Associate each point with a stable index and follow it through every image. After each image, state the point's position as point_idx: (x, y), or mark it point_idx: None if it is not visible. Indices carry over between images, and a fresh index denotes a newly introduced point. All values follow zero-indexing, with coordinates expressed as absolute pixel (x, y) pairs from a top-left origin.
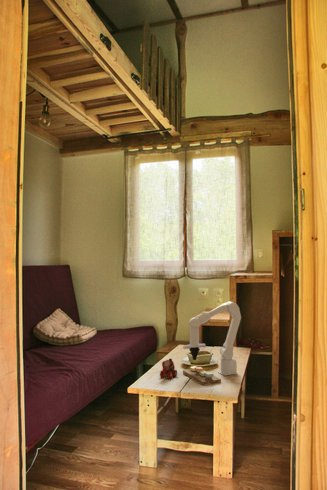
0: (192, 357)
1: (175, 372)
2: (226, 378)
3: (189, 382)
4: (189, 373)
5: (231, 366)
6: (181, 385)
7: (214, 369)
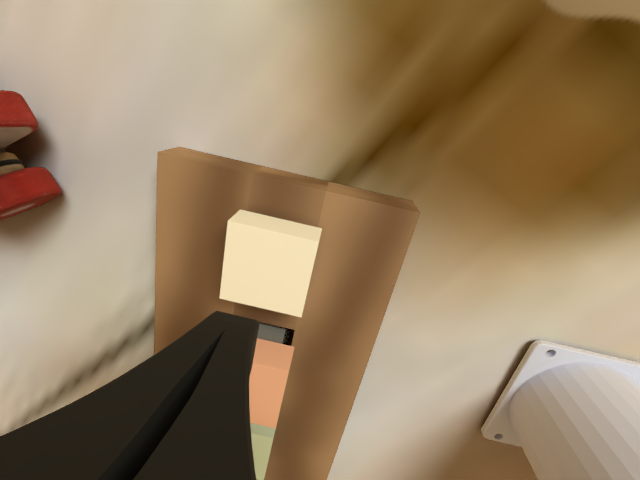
0: (187, 338)
1: (2, 215)
2: (427, 470)
3: (107, 382)
4: (163, 301)
5: None
6: (23, 393)
7: (623, 239)
